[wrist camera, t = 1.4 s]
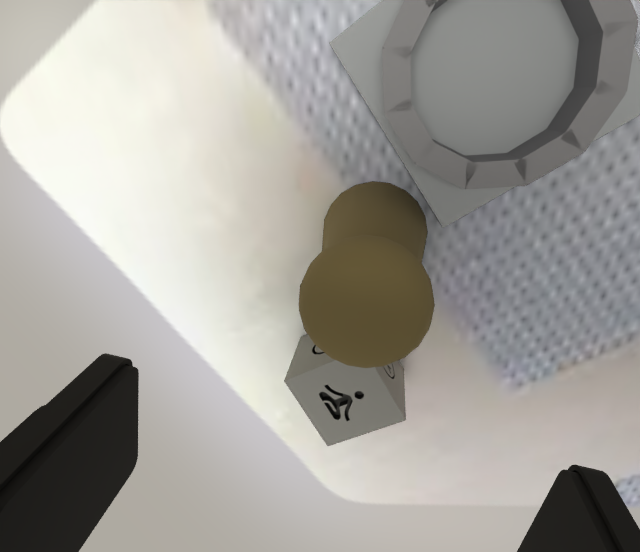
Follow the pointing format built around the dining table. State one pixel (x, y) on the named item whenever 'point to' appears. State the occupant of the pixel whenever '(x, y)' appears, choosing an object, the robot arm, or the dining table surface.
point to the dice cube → (345, 393)
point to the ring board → (492, 88)
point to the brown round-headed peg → (369, 278)
